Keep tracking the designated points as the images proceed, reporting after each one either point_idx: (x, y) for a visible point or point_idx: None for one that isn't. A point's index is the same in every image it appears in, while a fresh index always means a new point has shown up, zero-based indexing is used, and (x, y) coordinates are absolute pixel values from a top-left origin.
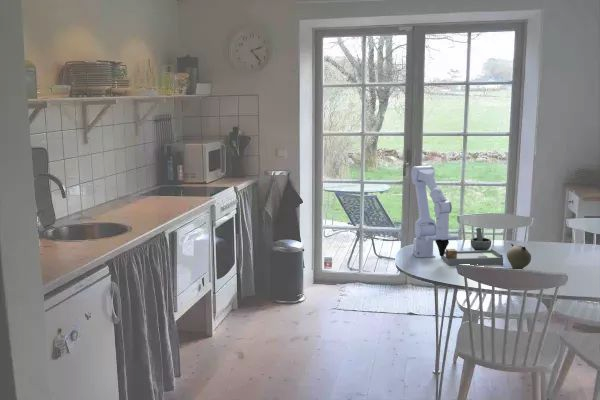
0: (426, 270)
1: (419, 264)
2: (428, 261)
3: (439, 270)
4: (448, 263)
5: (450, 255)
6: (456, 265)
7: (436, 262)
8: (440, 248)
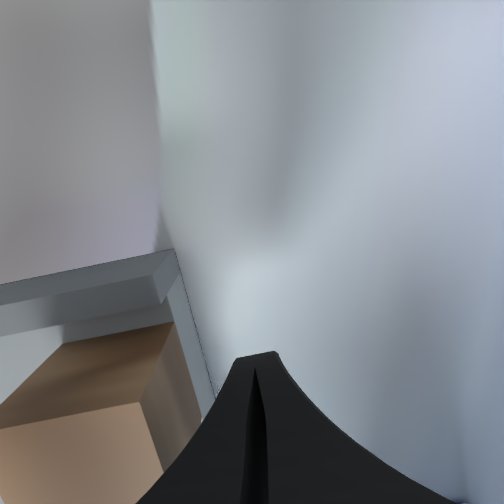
0: (468, 11)
1: (492, 275)
2: (377, 393)
3: (304, 30)
4: (180, 289)
5: (127, 356)
6: (93, 266)
7: (301, 368)
8: (313, 424)
